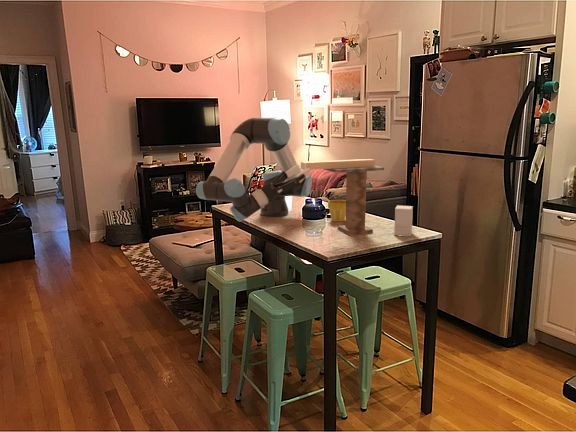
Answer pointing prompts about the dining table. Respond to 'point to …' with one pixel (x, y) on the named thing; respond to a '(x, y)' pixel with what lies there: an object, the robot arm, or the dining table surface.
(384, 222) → the dining table surface
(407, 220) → the supplement box
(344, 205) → the plant pot
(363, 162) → the tan rectangular bar
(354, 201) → the shelf stand
